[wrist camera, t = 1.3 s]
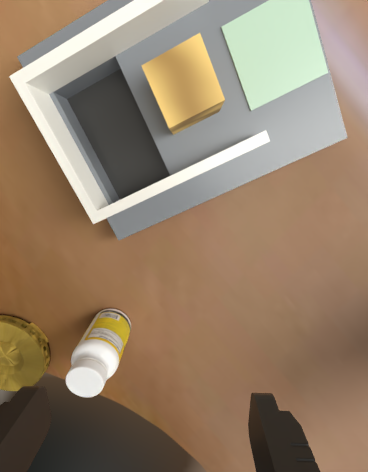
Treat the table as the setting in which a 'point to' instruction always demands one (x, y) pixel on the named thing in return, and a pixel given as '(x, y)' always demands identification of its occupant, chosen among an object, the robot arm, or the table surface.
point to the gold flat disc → (21, 353)
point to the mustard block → (185, 84)
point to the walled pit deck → (150, 115)
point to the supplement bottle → (98, 353)
